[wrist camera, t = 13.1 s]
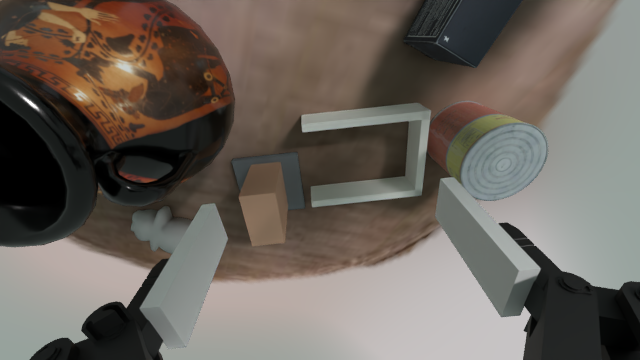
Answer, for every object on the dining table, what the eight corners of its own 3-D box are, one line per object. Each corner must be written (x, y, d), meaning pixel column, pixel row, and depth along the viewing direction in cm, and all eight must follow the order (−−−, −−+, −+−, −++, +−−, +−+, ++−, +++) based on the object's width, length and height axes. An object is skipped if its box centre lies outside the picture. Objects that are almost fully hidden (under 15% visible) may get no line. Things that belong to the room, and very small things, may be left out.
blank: (280, 161, 45) (275, 192, 36) (288, 205, 49) (285, 242, 41) (250, 164, 45) (238, 196, 36) (261, 208, 49) (252, 246, 41)
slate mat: (297, 151, 45) (297, 154, 44) (305, 205, 51) (305, 208, 50) (232, 158, 45) (231, 161, 44) (247, 211, 51) (246, 214, 50)
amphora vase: (74, 103, 40) (-295, 216, 15) (115, -51, 32) (-531, -339, 7) (212, 172, 46) (112, 328, 22) (274, 60, 38) (225, 108, 14)
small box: (437, 62, 40) (477, 71, 31) (401, 41, 38) (432, 44, 29) (486, -16, 35) (550, -33, 26) (448, -44, 34) (502, -72, 25)
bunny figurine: (127, 206, 44) (215, 238, 46) (147, 191, 49) (226, 221, 51) (123, 247, 48) (204, 274, 50) (141, 230, 53) (215, 255, 55)
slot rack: (417, 102, 42) (431, 110, 38) (411, 181, 49) (421, 195, 45) (301, 114, 42) (301, 124, 38) (311, 191, 49) (312, 207, 45)
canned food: (491, 152, 48) (545, 186, 37) (429, 172, 49) (463, 210, 38) (490, 90, 42) (552, 110, 32) (420, 114, 43) (457, 140, 33)
